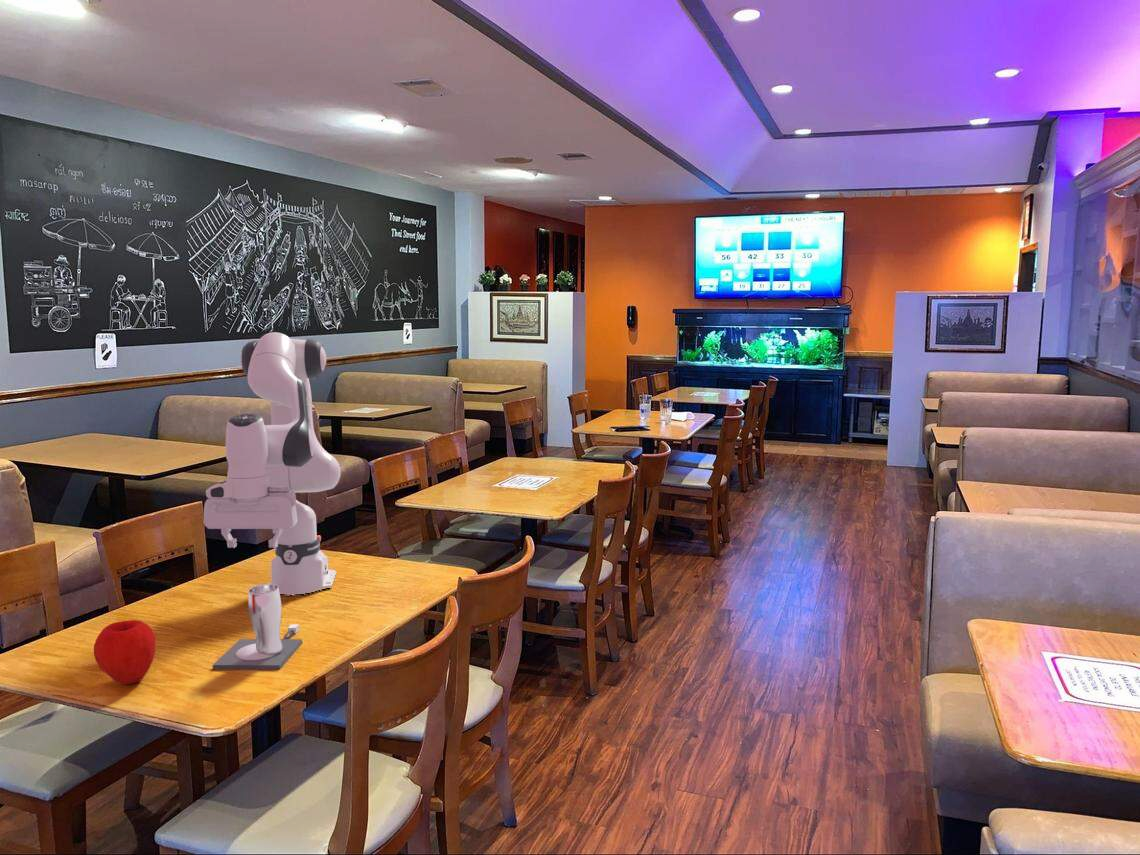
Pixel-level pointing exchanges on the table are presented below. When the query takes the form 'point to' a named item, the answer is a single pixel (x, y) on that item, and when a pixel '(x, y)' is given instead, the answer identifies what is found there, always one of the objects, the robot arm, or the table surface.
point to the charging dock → (246, 657)
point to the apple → (125, 650)
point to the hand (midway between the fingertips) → (252, 547)
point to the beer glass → (266, 618)
